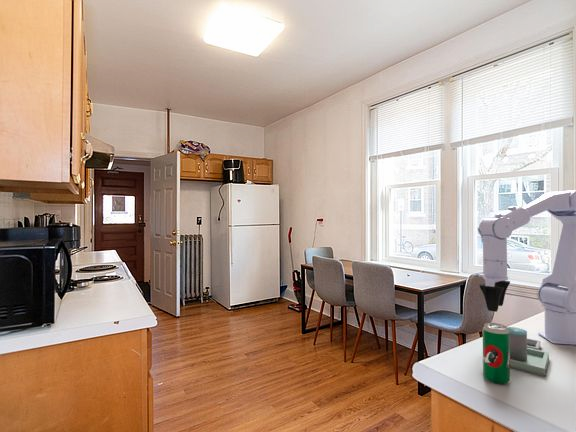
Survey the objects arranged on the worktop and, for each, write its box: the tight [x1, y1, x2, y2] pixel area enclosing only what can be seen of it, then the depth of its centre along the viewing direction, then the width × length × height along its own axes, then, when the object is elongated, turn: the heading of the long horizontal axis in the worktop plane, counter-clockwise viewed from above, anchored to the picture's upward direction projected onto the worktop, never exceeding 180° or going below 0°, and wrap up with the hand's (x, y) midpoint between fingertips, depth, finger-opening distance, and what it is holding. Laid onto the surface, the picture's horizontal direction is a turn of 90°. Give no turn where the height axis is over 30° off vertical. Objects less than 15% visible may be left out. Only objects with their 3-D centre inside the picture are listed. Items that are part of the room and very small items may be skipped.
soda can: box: [482, 322, 511, 385], centre depth 72 cm, size 5×5×12 cm
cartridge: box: [506, 326, 528, 362], centre depth 81 cm, size 4×4×7 cm
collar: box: [527, 338, 541, 350], centre depth 90 cm, size 7×7×2 cm
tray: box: [510, 348, 550, 378], centre depth 81 cm, size 12×12×2 cm
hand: (495, 308), depth 91 cm, fingers open, 7 cm apart
